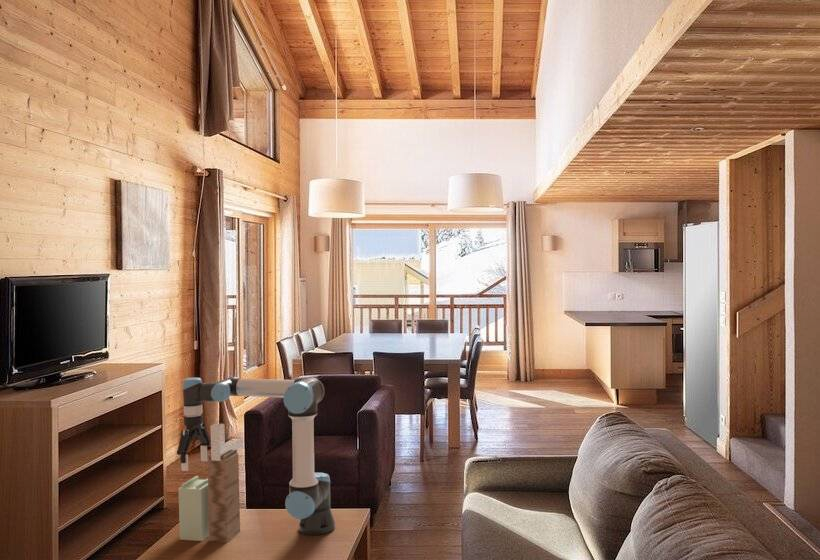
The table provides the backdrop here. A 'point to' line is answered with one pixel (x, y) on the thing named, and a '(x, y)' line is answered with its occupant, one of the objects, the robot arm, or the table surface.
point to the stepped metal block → (222, 443)
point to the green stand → (194, 510)
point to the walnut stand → (224, 497)
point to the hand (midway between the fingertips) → (194, 465)
